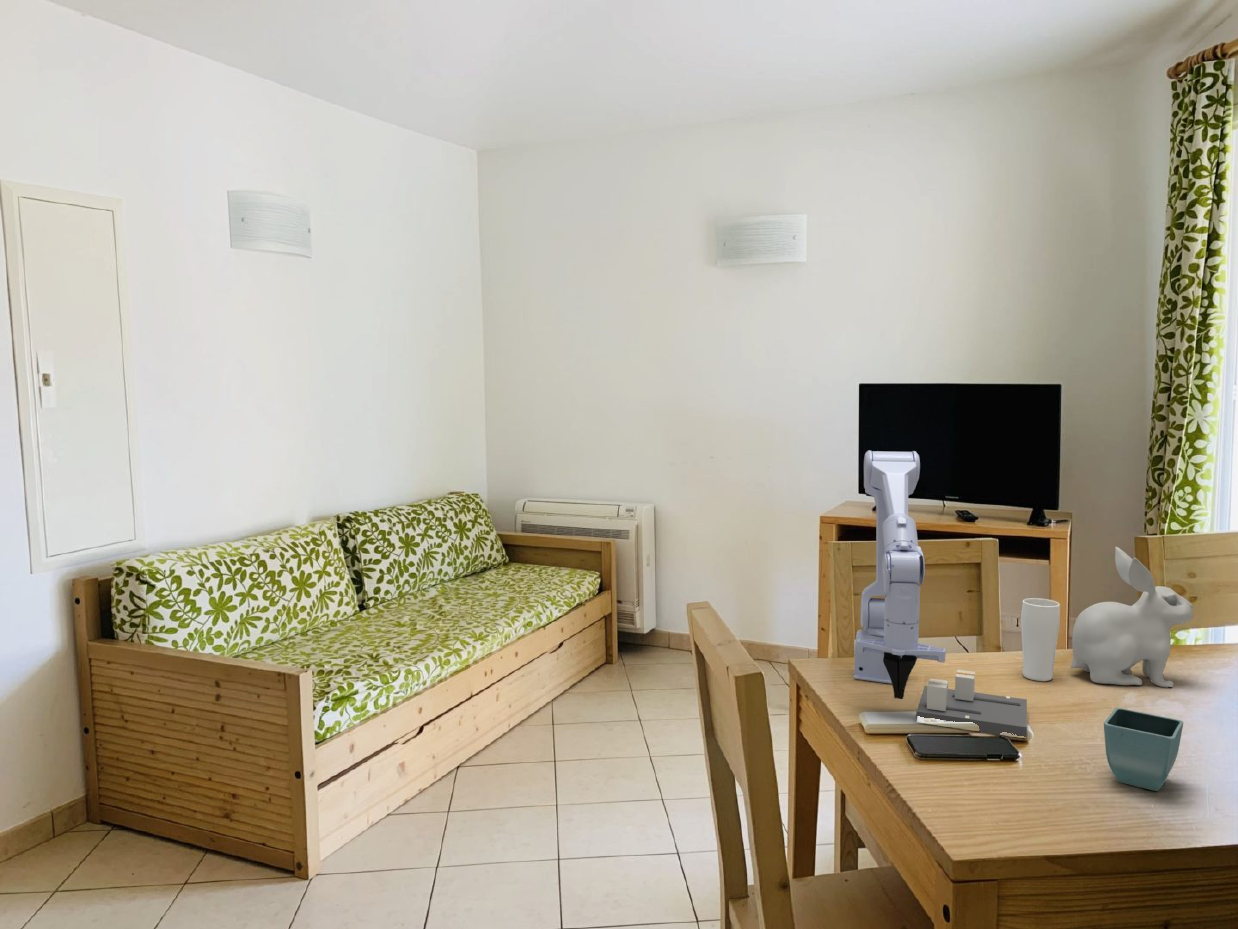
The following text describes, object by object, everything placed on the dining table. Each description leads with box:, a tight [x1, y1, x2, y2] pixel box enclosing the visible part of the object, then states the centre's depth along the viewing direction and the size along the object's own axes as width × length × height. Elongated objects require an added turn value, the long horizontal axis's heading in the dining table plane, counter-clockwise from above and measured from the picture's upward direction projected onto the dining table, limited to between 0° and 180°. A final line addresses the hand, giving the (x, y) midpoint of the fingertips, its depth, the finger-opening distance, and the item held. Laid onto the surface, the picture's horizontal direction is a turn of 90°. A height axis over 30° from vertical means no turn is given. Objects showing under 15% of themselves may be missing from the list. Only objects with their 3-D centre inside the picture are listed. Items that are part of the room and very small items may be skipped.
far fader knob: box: [954, 669, 976, 701], centre depth 159 cm, size 3×4×4 cm
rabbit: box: [1070, 546, 1194, 688], centre depth 173 cm, size 12×21×25 cm, turn 77°
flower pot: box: [1103, 707, 1184, 792], centre depth 130 cm, size 9×9×9 cm
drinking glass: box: [1020, 597, 1061, 682], centre depth 175 cm, size 7×7×15 cm
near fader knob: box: [926, 678, 949, 711], centre depth 154 cm, size 3×4×4 cm
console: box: [915, 685, 1028, 738], centre depth 155 cm, size 17×14×2 cm
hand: (899, 696), depth 157 cm, fingers closed
